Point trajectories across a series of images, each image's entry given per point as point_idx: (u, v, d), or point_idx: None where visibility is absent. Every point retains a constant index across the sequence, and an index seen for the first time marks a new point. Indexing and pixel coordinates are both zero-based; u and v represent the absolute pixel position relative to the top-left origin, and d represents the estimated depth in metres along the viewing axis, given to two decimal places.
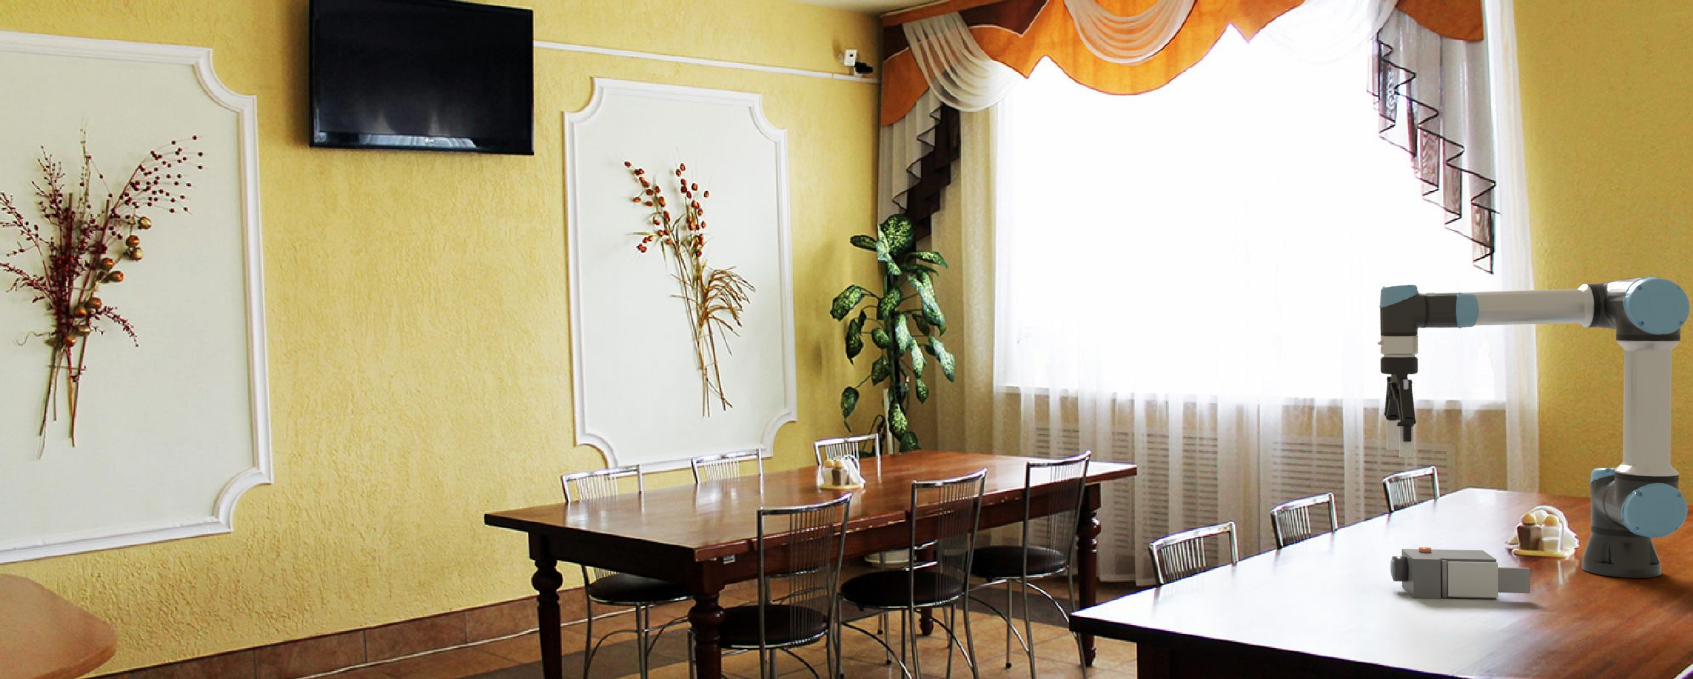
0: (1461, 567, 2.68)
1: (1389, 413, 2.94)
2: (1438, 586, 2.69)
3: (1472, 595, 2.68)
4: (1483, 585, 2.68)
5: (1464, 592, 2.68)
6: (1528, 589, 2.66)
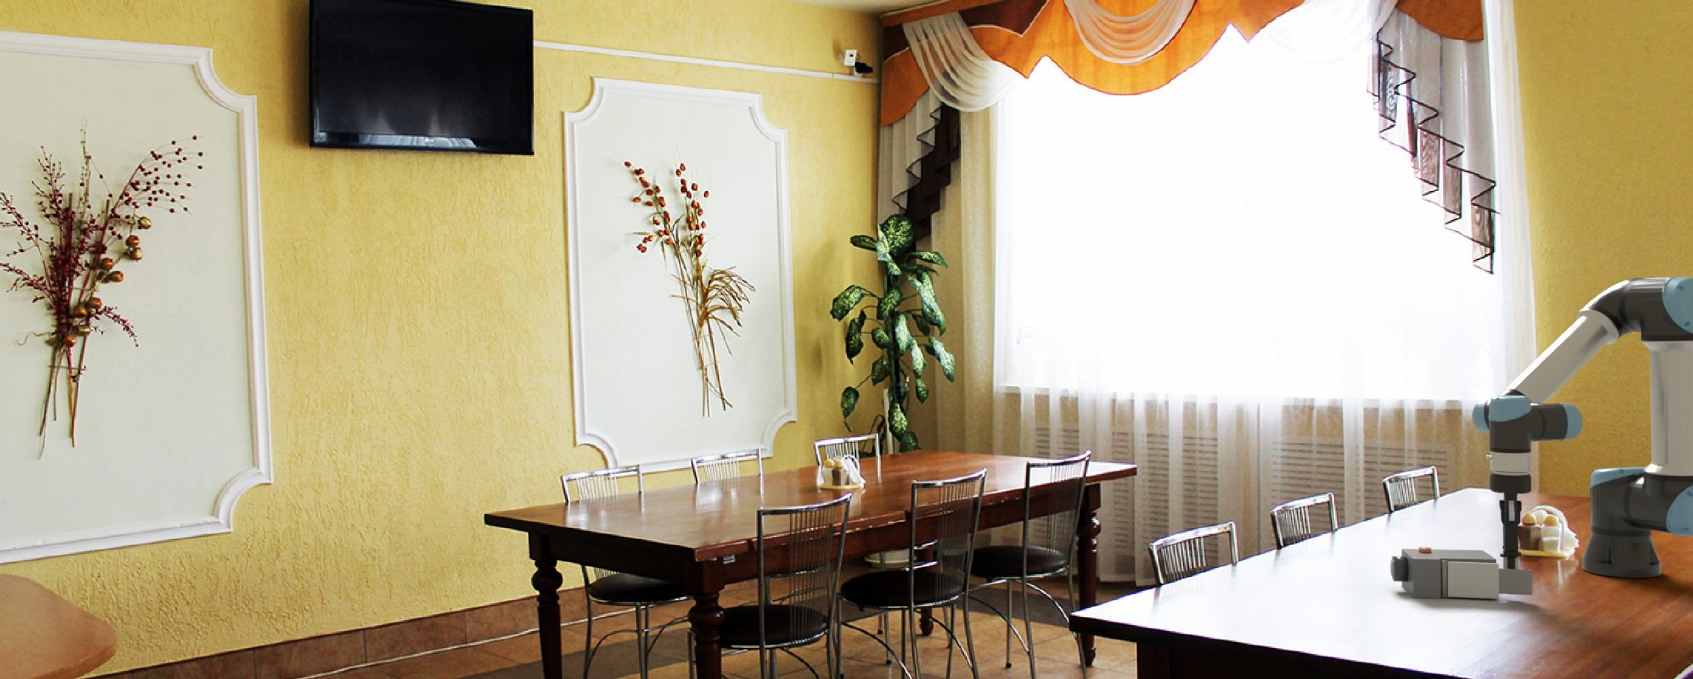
0: (1461, 567, 2.68)
1: None
2: (1438, 586, 2.69)
3: (1472, 596, 2.68)
4: (1483, 586, 2.67)
5: (1464, 592, 2.68)
6: (1530, 591, 2.65)
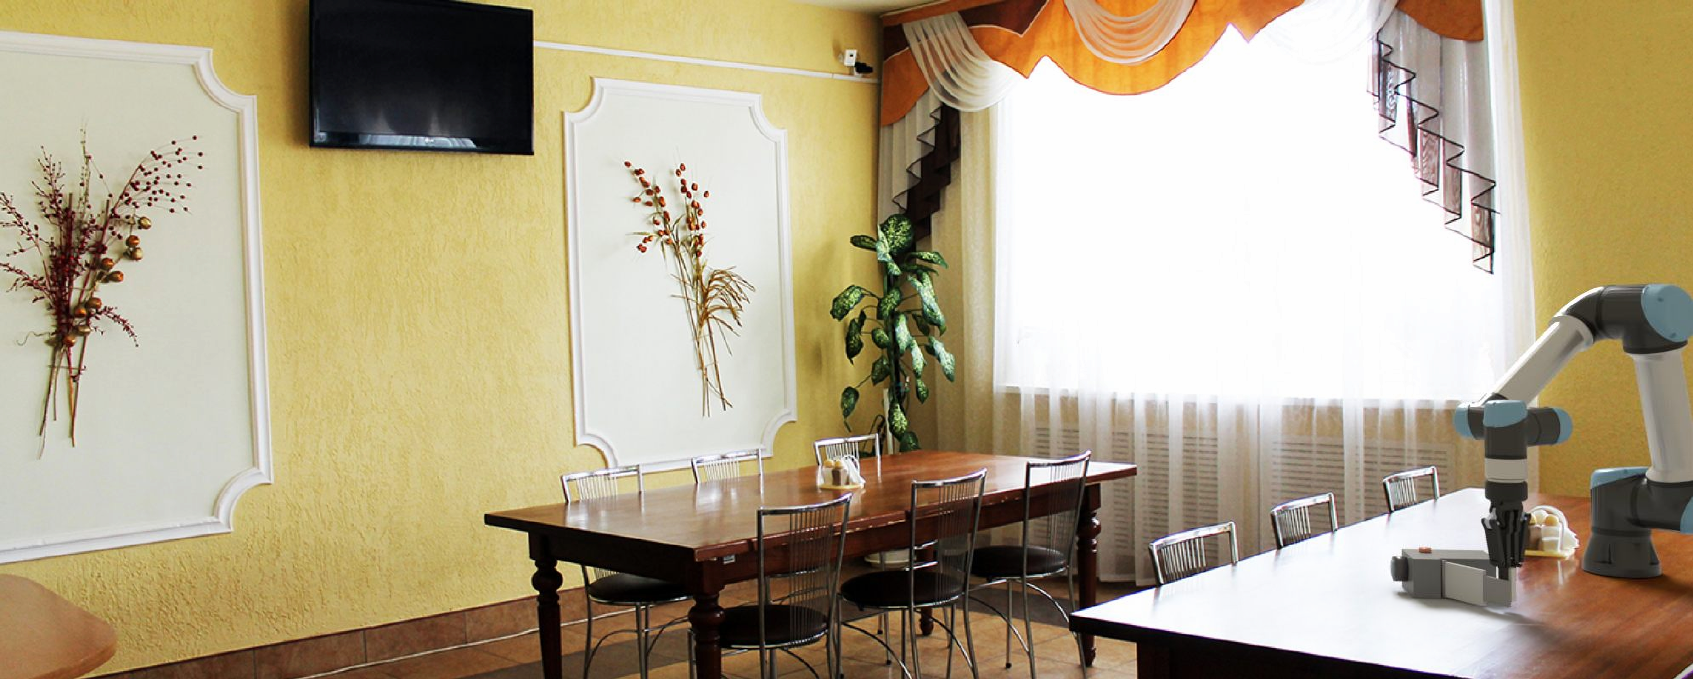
0: (1455, 569, 2.66)
1: None
2: (1438, 586, 2.69)
3: (1463, 599, 2.65)
4: (1471, 591, 2.63)
5: (1457, 595, 2.66)
6: (1507, 603, 2.55)
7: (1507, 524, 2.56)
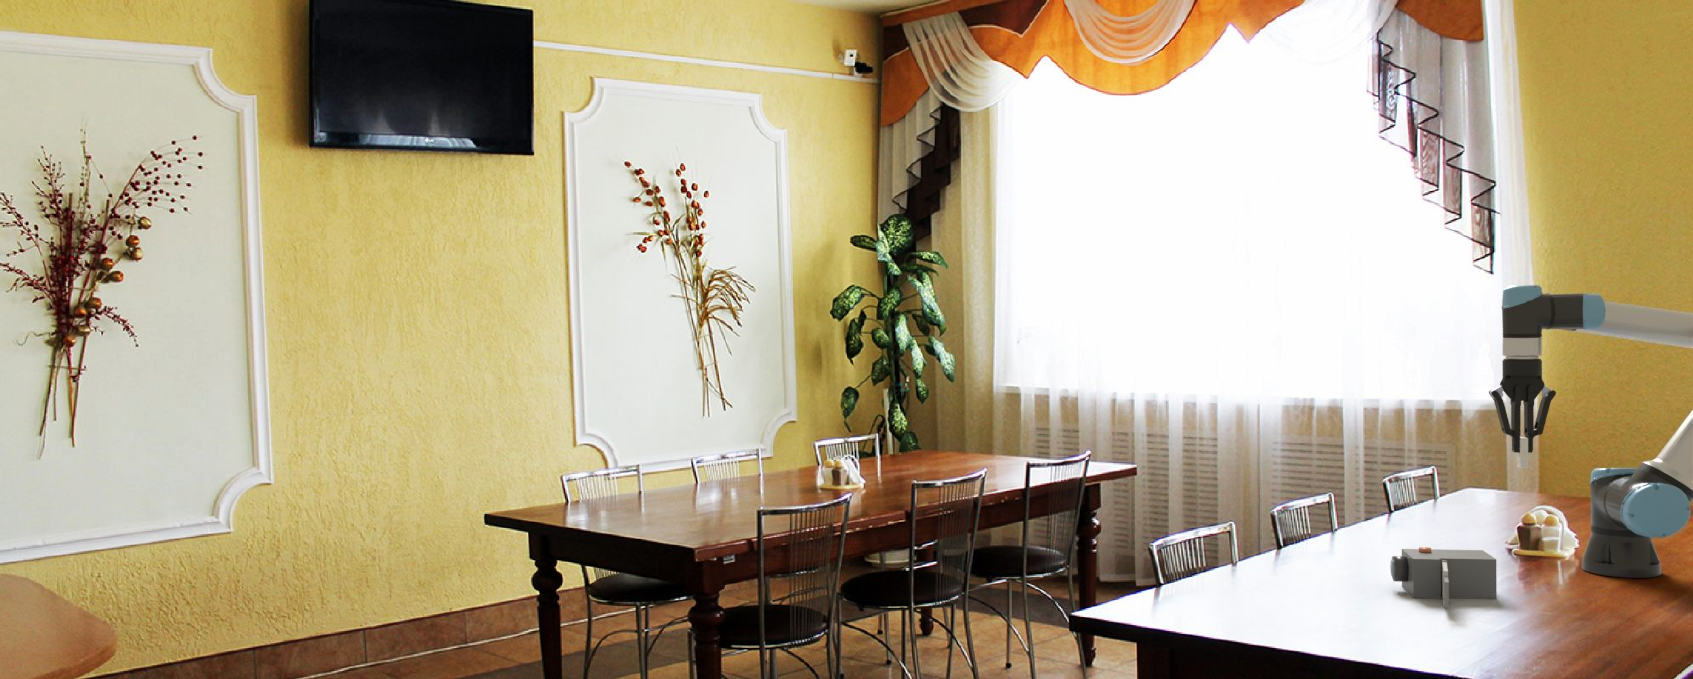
0: None
1: (1524, 425, 2.84)
2: (1438, 586, 2.69)
3: None
4: None
5: None
6: (1444, 603, 2.55)
7: (1514, 397, 2.82)
